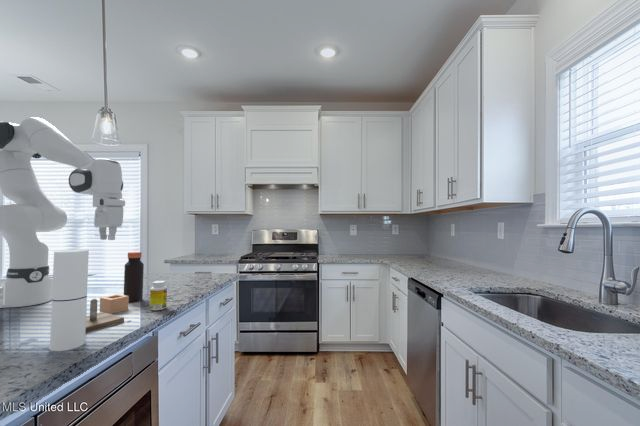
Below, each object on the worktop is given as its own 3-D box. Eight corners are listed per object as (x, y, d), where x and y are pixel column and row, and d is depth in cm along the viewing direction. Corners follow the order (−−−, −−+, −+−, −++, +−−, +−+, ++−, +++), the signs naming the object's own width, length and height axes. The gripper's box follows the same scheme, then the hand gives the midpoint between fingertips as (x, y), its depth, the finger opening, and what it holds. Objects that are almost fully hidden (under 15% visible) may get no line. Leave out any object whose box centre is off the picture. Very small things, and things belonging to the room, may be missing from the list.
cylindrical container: (55, 353, 74) (60, 252, 75) (45, 347, 78) (49, 250, 79) (89, 344, 80) (93, 250, 81) (78, 338, 84) (82, 249, 85)
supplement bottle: (165, 310, 111) (166, 282, 112) (148, 311, 109) (149, 283, 110) (167, 306, 116) (168, 279, 117) (151, 307, 115) (152, 280, 115)
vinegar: (131, 298, 128) (133, 251, 129) (146, 298, 127) (147, 251, 128) (119, 302, 121) (121, 252, 122) (134, 302, 120) (135, 253, 121)
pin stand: (60, 327, 92) (61, 300, 92) (102, 316, 103) (103, 292, 103) (81, 334, 87) (82, 306, 87) (123, 322, 98) (124, 297, 98)
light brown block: (99, 311, 109) (100, 297, 109) (117, 307, 114) (118, 294, 114) (109, 314, 106) (110, 299, 106) (128, 309, 111) (128, 296, 112)
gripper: (89, 203, 114) (89, 239, 114) (105, 200, 101) (105, 240, 100) (109, 204, 119) (108, 239, 118) (127, 200, 106) (126, 239, 105)
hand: (107, 239), depth 109 cm, fingers open, 8 cm apart
